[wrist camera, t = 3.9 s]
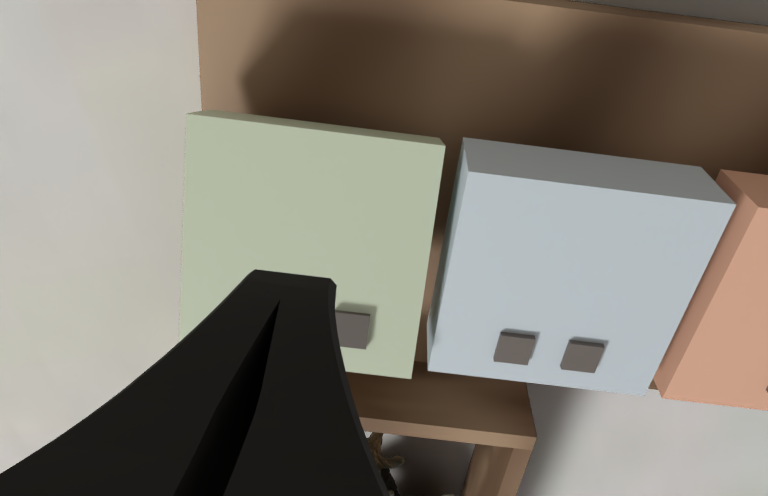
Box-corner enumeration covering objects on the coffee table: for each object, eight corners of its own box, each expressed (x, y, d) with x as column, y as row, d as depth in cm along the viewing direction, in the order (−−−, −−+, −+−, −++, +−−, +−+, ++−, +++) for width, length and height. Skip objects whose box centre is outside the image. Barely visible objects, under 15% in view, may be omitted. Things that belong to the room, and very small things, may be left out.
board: (963, 51, 16) (1108, 100, 13) (636, 584, 30) (663, 676, 27) (208, -46, 16) (151, -22, 12) (231, 539, 30) (207, 626, 26)
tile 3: (439, 137, 16) (446, 146, 14) (409, 346, 18) (411, 382, 15) (211, 109, 16) (183, 114, 14) (202, 321, 17) (176, 354, 15)
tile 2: (700, 167, 15) (739, 207, 13) (623, 347, 18) (646, 400, 17) (463, 137, 15) (469, 174, 13) (426, 323, 18) (427, 375, 16)
